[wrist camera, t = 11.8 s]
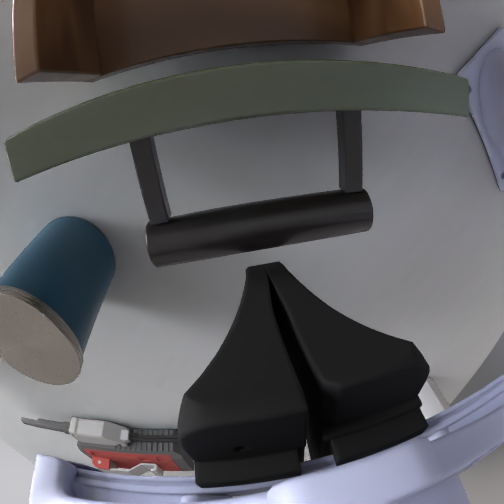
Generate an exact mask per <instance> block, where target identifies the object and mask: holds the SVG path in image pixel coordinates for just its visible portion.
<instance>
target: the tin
mask: <svg viewBox="0 0 504 504" xmlns="http://www.w3.org/2000/svg"><path fill="white" fill-rule="evenodd" d="M114 272H115V258H114V253H113V250H112V248H111V246H110V244H109V242H108V240H107V239H106V237H105V236H104V235H103V234H102V233H101V232H100V231H99V230H98V229H97V228H96V227H95V226H94V225H92V224H91V223H89V222H87V221H85V220H83V219H80V218H76V217H60V218H57V219H55V220H53V221H51V222H50V223H49V224H48V225H47V226H46V227H45V228H44V229H43V230H42V231H41V232H40V233H39V234H38V235H37V236H36V237H35V238H34V239H33V240H32V241H31V242H30V244H29V245H28V246H27V247H26V248H25V249H24V250H23V251H22V252H21V254H20V255H19V256H18V257H17V258H16V259H15V260H14V262H13V263H12V264H11V265H10V266H9V268H8V269H7V270H6V271H5V272H4V274H3V275H2V276H1V277H0V357H1V358H2V359H3V360H4V361H6V362H7V363H8V364H9V365H10V366H12V367H13V368H14V369H16V370H17V371H19V372H21V373H22V374H24V375H26V376H28V377H30V378H32V379H34V380H37V381H40V382H43V383H47V384H53V385H64V384H68V383H71V382H73V381H74V380H75V379H76V378H77V377H78V376H79V374H80V371H81V368H82V364H83V354H84V351H85V348H86V345H87V342H88V339H89V337H90V334H91V331H92V328H93V326H94V323H95V320H96V318H97V315H98V312H99V310H100V307H101V305H102V302H103V300H104V297H105V295H106V293H107V290H108V288H109V285H110V283H111V281H112V278H113V276H114Z"/></svg>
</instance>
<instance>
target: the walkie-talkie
mask: <svg viewBox="0 0 504 504" xmlns="http://www.w3.org/2000/svg"><path fill="white" fill-rule="evenodd" d="M21 420H22V422H23V423H24V424H27V425H31V426H36V427H40V428H45V429H50V430H56V431H61V432H65V433H66V434H71V435H72V436H73V437H75V438H76V439H77V440H78V443H77V446H78V448H79V449H80V451H82V452H83V453H84V454H86V455H87V456H88V457H90V458H91V459H92V462H93V464H94V466H96V467H97V468H99V469H100V470H101V471H103V472H105V473H113V474H124V475H137V476H139V475H141V474H143V473H145V472H147V471H151V472H153V473H154V474H155V475H156V476H163V471H193V470H194V460H193V459H192V458H191V457H190V456H189V455H188V454H187V453H186V452H185V451H184V450H183V449H182V448H181V447H180V445H179V443H178V431H177V430H173V429H128V428H127V427H123V426H120V425H117V424H114V423H111V422H108V421H100V420H89V419H81V418H78V417H72V418H71V422H64V423H61V422H55V421H50V420H44V419H38V420H33V419H28V418H23V417H22V418H21ZM118 468H127V469H129V470H124V469H118Z"/></svg>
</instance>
